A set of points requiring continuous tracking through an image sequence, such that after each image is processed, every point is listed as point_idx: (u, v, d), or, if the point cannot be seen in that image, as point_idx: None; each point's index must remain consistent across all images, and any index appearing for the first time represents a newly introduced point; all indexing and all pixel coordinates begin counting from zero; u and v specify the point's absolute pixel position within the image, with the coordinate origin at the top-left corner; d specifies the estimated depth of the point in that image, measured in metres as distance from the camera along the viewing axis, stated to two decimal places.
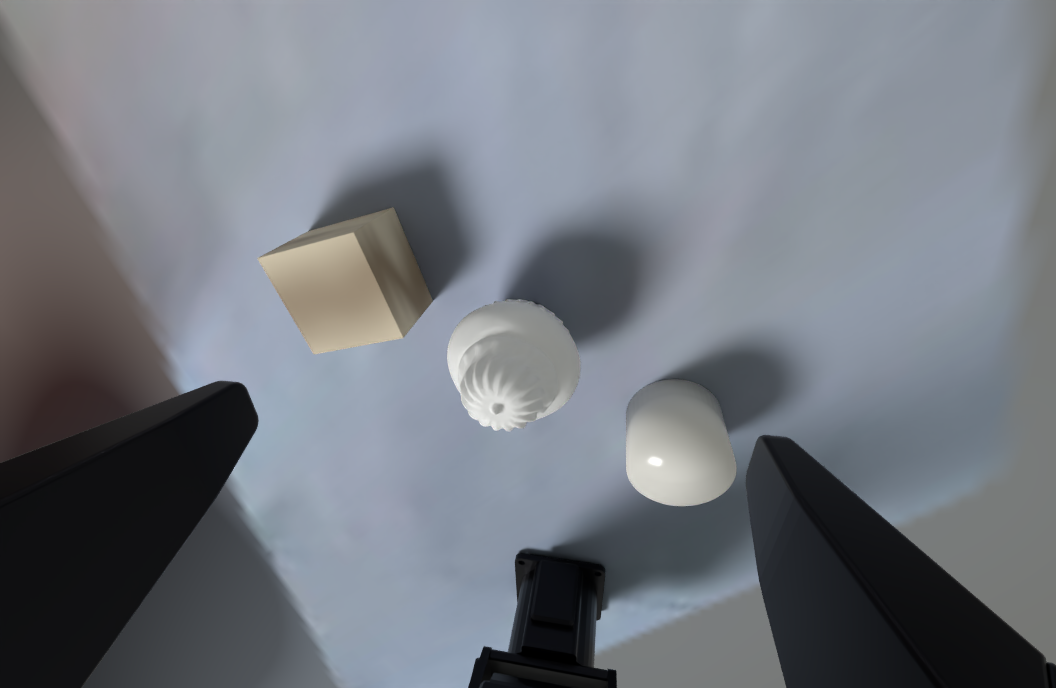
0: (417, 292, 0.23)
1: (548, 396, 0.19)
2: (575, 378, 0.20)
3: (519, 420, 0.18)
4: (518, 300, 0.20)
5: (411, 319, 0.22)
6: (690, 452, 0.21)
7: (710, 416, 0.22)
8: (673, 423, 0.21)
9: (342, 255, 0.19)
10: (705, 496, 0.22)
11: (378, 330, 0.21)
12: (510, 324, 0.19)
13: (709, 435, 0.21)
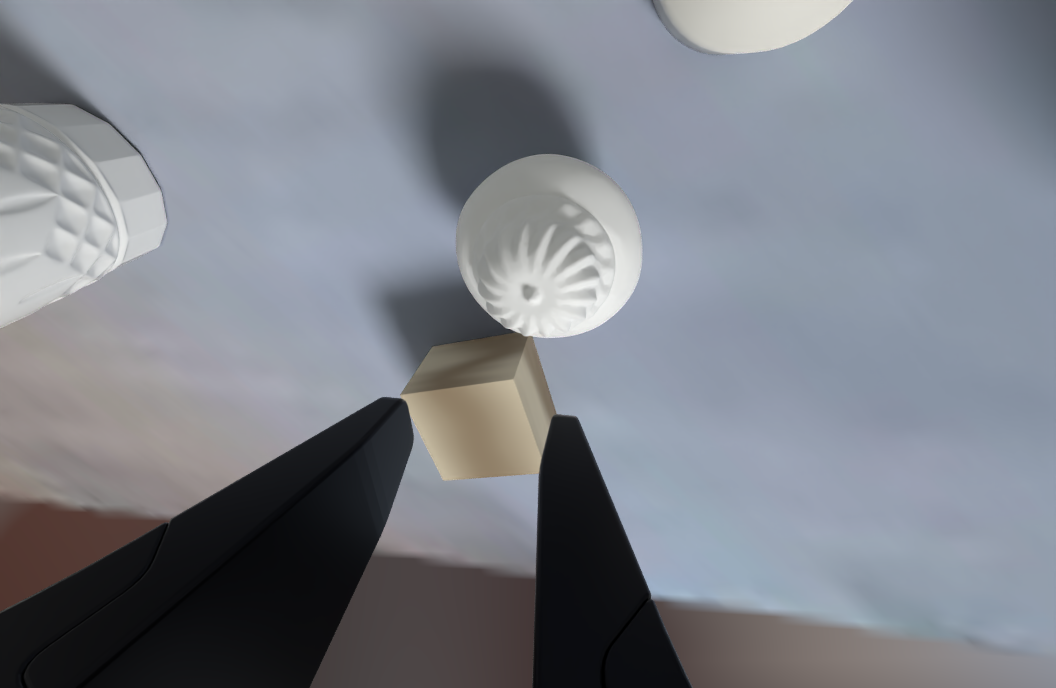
0: (504, 346, 0.20)
1: (550, 211, 0.13)
2: (550, 164, 0.13)
3: (550, 264, 0.12)
4: None
5: (512, 362, 0.19)
6: None
7: None
8: None
9: (425, 410, 0.19)
10: None
11: (507, 402, 0.18)
12: (463, 254, 0.15)
13: None
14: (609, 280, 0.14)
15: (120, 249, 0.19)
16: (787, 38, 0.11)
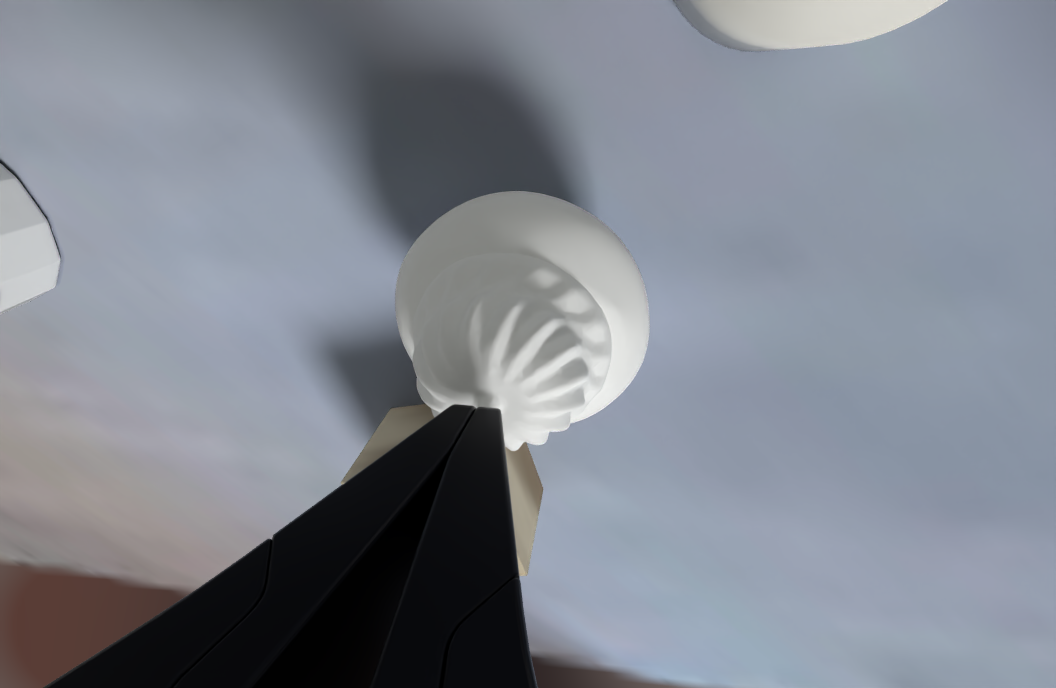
0: None
1: (516, 279, 0.09)
2: (518, 207, 0.09)
3: (514, 365, 0.08)
4: None
5: None
6: None
7: None
8: None
9: None
10: None
11: None
12: (403, 325, 0.11)
13: None
14: (603, 370, 0.10)
15: None
16: (882, 23, 0.07)
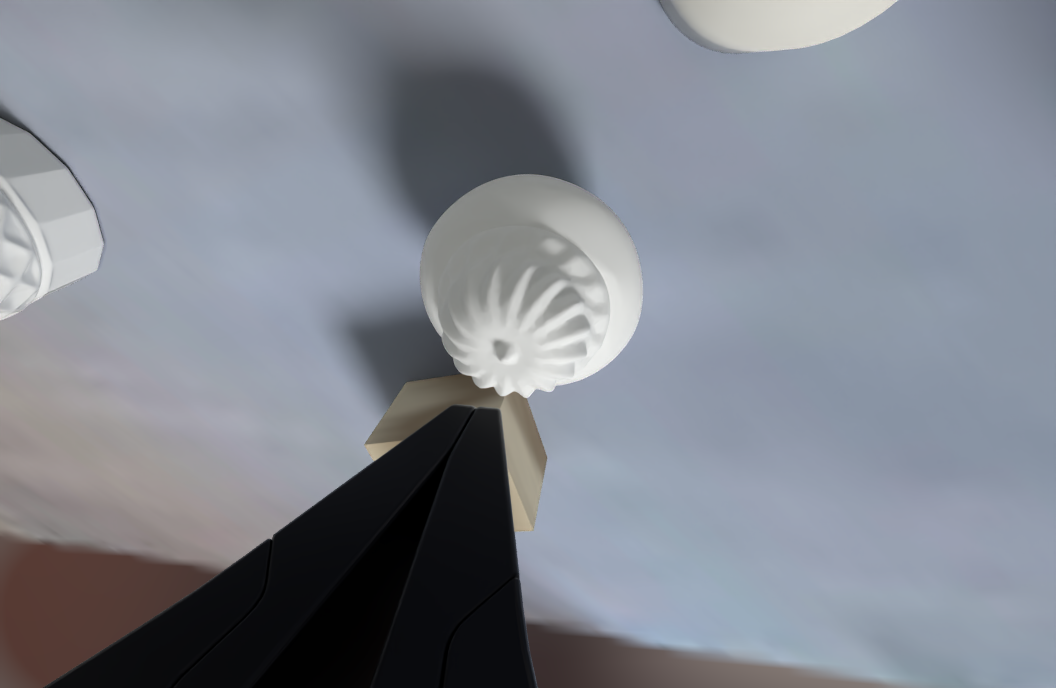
0: None
1: (528, 247, 0.10)
2: (529, 187, 0.11)
3: (528, 316, 0.10)
4: None
5: None
6: None
7: None
8: None
9: None
10: None
11: None
12: (428, 293, 0.12)
13: None
14: (602, 328, 0.11)
15: (44, 277, 0.17)
16: (830, 31, 0.08)
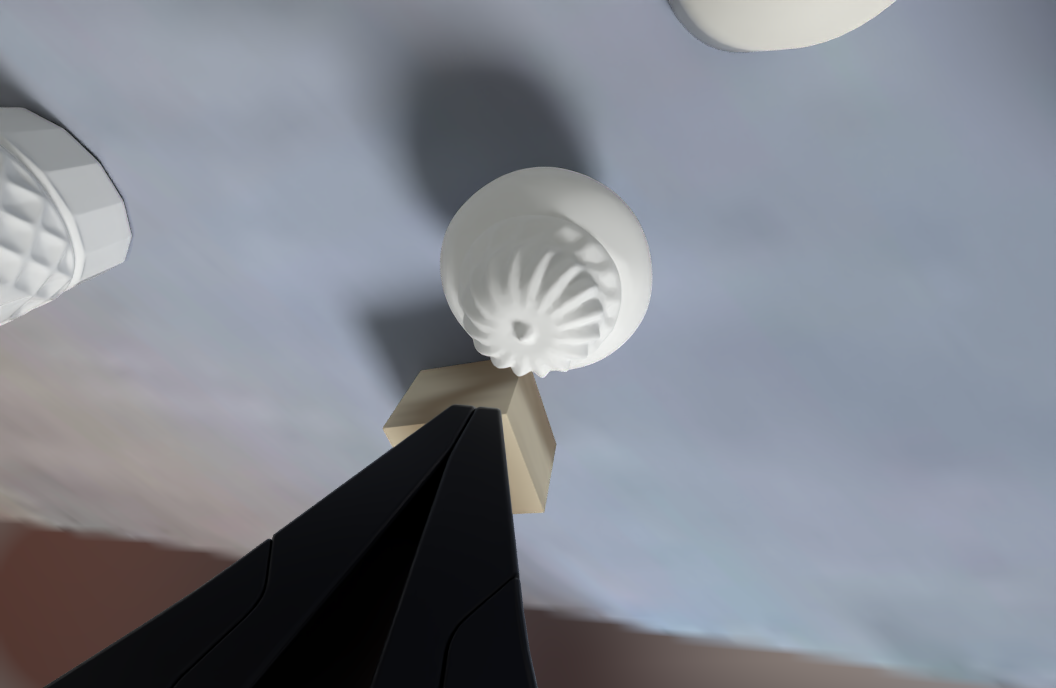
0: (497, 372, 0.18)
1: (546, 235, 0.11)
2: (546, 179, 0.11)
3: (546, 298, 0.10)
4: None
5: (506, 393, 0.17)
6: None
7: None
8: None
9: None
10: None
11: None
12: (448, 280, 0.13)
13: None
14: (614, 312, 0.12)
15: (76, 266, 0.18)
16: (830, 32, 0.09)
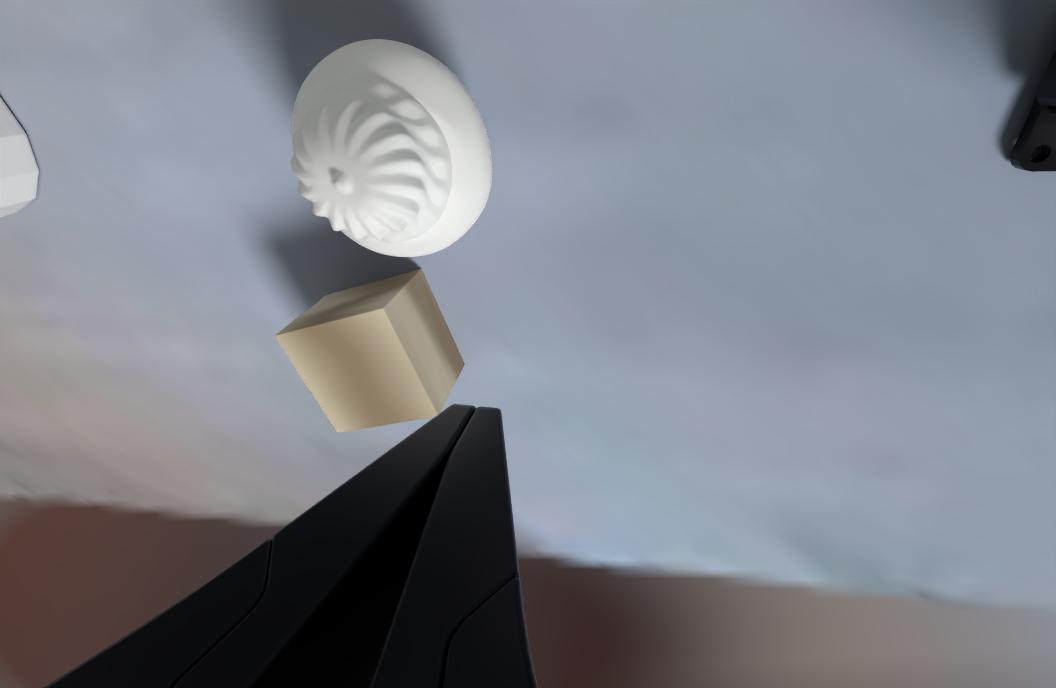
0: (390, 284, 0.19)
1: (362, 91, 0.12)
2: (368, 45, 0.12)
3: (352, 141, 0.11)
4: None
5: (390, 295, 0.18)
6: None
7: None
8: None
9: (303, 352, 0.18)
10: None
11: (382, 336, 0.17)
12: None
13: None
14: (443, 173, 0.13)
15: None
16: None
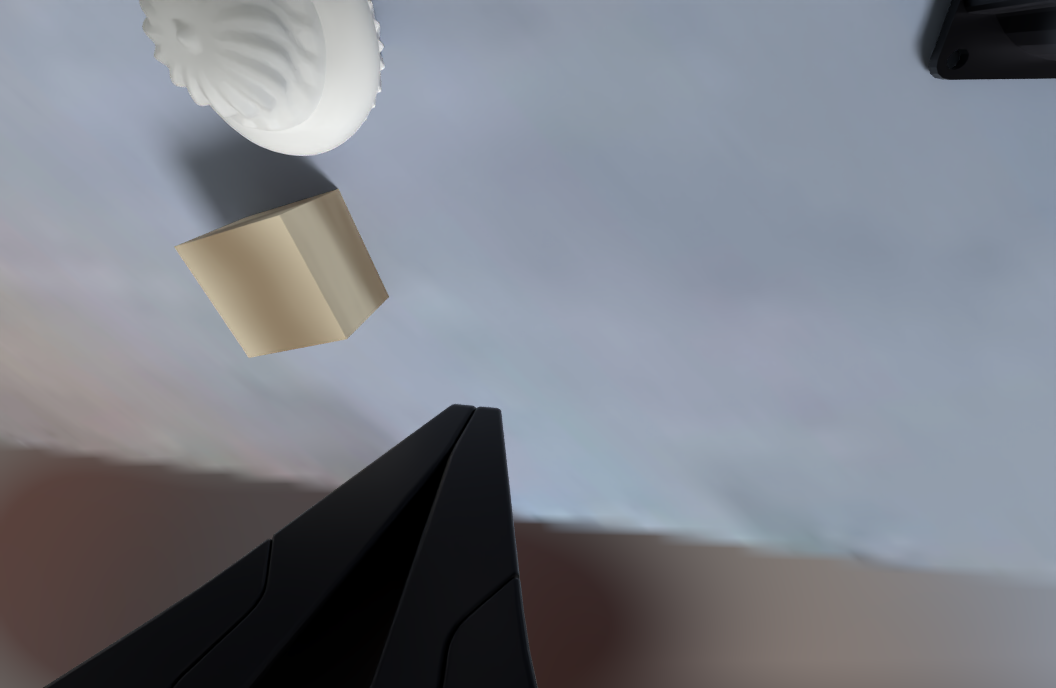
0: (302, 201, 0.18)
1: None
2: None
3: None
4: None
5: (294, 207, 0.17)
6: None
7: None
8: None
9: (205, 266, 0.17)
10: None
11: (281, 246, 0.16)
12: None
13: None
14: (313, 46, 0.12)
15: None
16: None
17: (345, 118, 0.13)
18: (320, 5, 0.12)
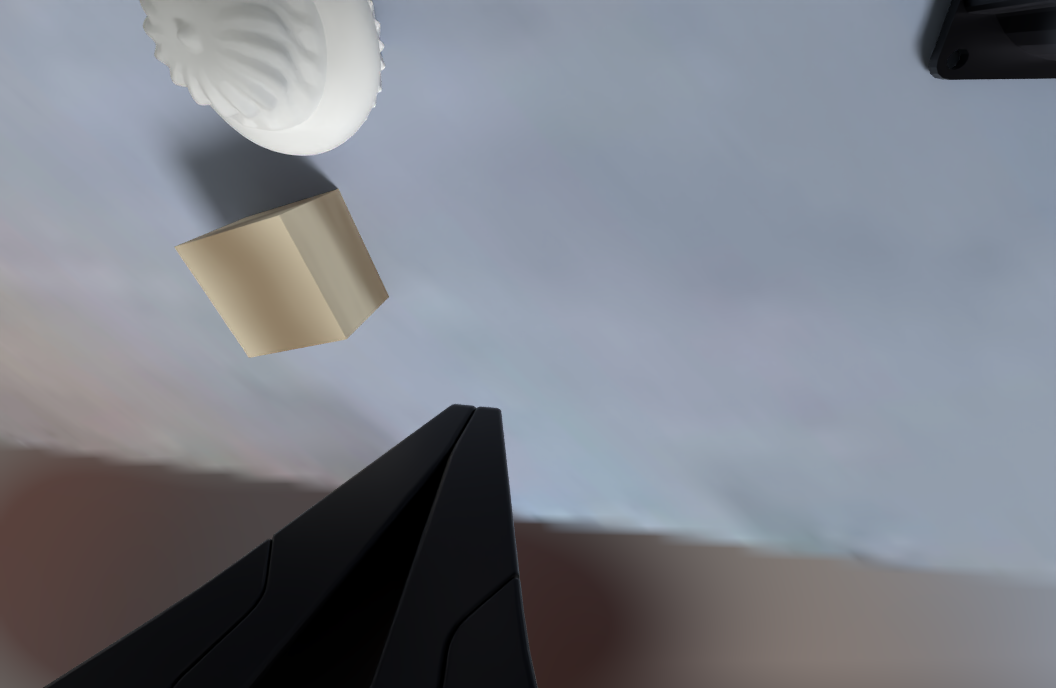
0: (302, 201, 0.18)
1: None
2: None
3: None
4: None
5: (293, 207, 0.17)
6: None
7: None
8: None
9: (205, 266, 0.17)
10: None
11: (281, 247, 0.16)
12: None
13: None
14: (314, 45, 0.12)
15: None
16: None
17: (346, 118, 0.13)
18: (321, 5, 0.12)
